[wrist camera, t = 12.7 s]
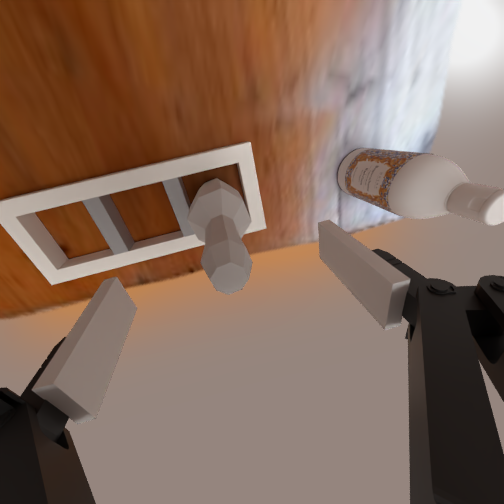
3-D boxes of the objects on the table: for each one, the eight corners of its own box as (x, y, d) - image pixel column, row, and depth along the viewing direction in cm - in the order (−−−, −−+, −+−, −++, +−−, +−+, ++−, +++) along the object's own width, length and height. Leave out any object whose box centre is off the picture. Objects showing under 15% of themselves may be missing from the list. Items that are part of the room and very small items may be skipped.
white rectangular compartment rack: (63, 273, 34) (51, 284, 32) (5, 198, 28) (-15, 205, 26) (262, 221, 36) (266, 228, 33) (246, 141, 30) (250, 142, 28)
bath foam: (344, 144, 33) (500, 156, 15) (383, 151, 34) (565, 169, 17) (330, 191, 36) (446, 245, 18) (366, 195, 37) (505, 249, 20)
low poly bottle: (245, 196, 34) (297, 277, 15) (215, 223, 35) (226, 331, 16) (216, 162, 31) (234, 208, 12) (184, 193, 32) (152, 281, 13)
